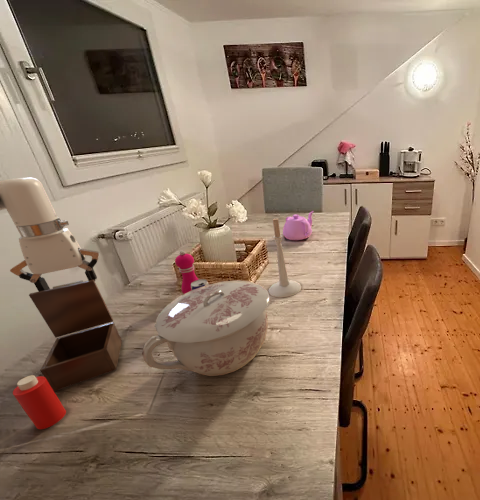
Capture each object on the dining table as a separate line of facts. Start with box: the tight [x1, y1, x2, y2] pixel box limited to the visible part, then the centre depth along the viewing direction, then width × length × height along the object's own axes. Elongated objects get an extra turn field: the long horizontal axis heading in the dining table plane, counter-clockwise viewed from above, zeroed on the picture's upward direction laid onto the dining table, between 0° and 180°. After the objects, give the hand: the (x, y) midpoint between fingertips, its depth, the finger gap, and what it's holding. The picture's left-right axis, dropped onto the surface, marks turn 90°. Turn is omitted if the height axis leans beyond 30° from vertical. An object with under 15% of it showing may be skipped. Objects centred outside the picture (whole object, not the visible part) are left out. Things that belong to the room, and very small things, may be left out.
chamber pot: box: [141, 279, 271, 377], centre depth 76 cm, size 28×28×21 cm
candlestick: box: [268, 217, 302, 299], centre depth 107 cm, size 13×13×30 cm
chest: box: [39, 321, 122, 392], centre depth 76 cm, size 14×13×8 cm
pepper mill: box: [174, 249, 200, 295], centre depth 105 cm, size 7×7×20 cm
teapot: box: [282, 210, 315, 241], centre depth 168 cm, size 22×22×14 cm
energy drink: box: [191, 278, 210, 290], centre depth 98 cm, size 5×5×12 cm
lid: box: [28, 280, 114, 339], centre depth 78 cm, size 14×13×5 cm
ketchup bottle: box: [12, 374, 67, 430], centre depth 60 cm, size 5×5×12 cm
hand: (70, 287), depth 77 cm, fingers open, 9 cm apart
